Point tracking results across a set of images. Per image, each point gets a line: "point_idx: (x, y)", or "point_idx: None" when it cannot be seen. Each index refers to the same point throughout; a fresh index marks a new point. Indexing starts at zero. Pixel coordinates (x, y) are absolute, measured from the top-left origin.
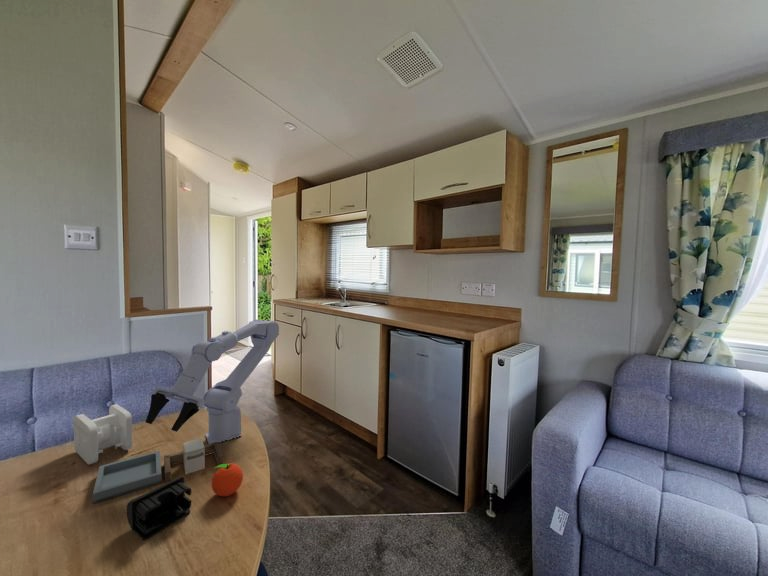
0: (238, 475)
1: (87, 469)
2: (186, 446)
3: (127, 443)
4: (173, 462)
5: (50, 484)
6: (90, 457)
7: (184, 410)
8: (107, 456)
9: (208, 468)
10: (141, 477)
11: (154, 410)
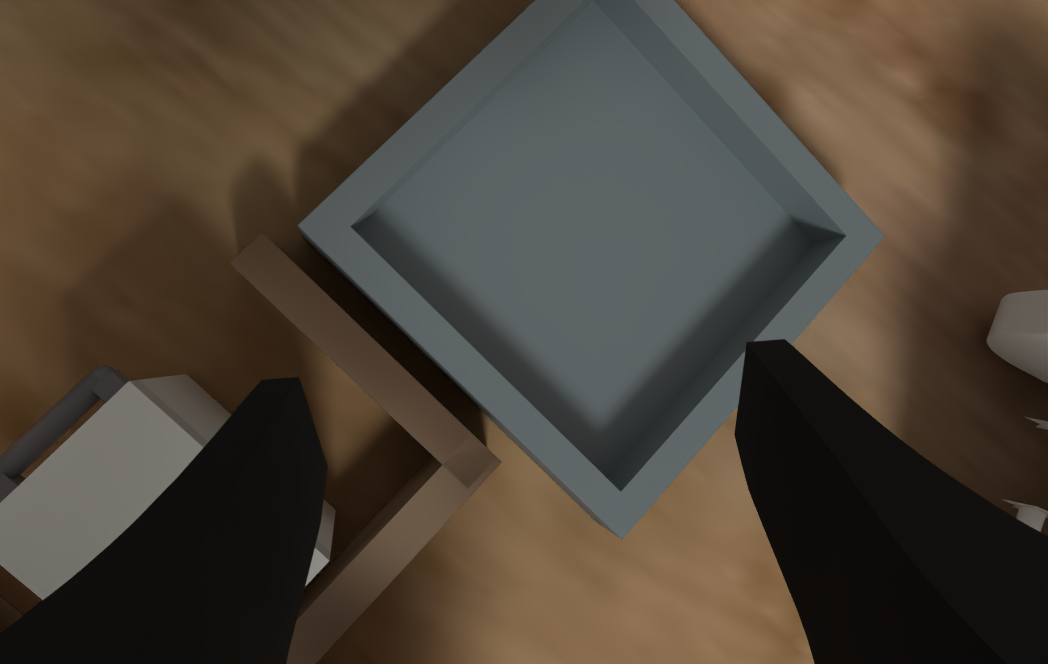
0: None
1: (976, 289)
2: None
3: None
4: (413, 478)
5: (1028, 114)
6: (1037, 291)
7: (59, 649)
8: (1000, 452)
9: None
10: (426, 150)
11: (831, 505)
